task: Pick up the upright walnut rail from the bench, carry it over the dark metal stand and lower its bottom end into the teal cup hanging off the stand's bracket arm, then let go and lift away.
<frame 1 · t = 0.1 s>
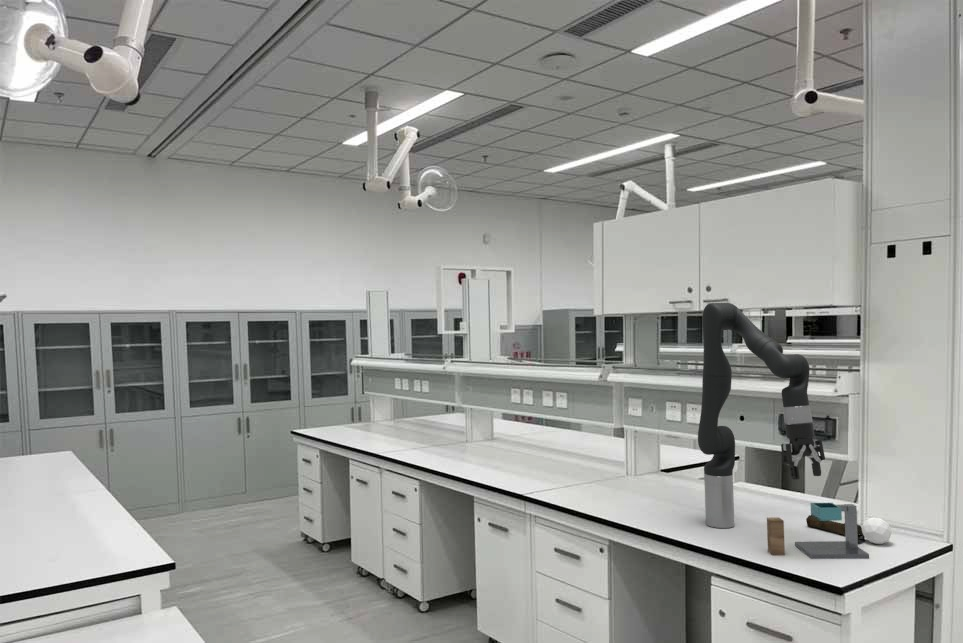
hand: (806, 477, 199), 22 cm above the table, tool pointing down, fingers open, 8 cm apart
hand tool: (836, 534, 219), on the table
cup bracket: (827, 551, 201), on the table
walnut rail: (776, 553, 201), on the table
ball: (877, 543, 208), on the table
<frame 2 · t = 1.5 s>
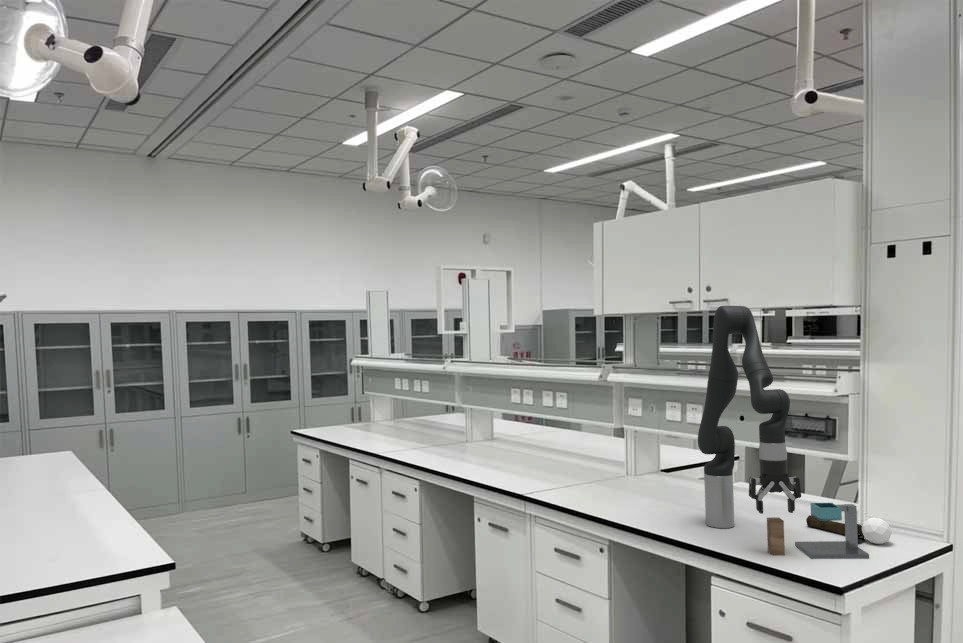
hand: (775, 512, 201), 12 cm above the table, tool pointing down, fingers open, 8 cm apart
nothing on the table moved.
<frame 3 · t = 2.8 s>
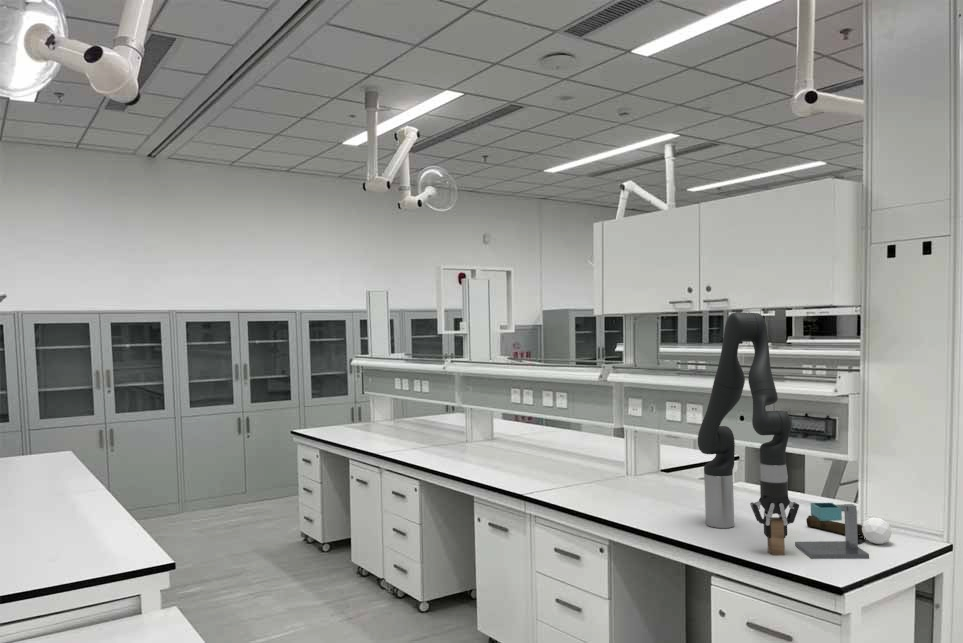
hand: (775, 537, 201), 5 cm above the table, tool pointing down, fingers closed on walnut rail, 3 cm apart
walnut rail: (776, 553, 201), on the table, touching gripper
everything else where it was.
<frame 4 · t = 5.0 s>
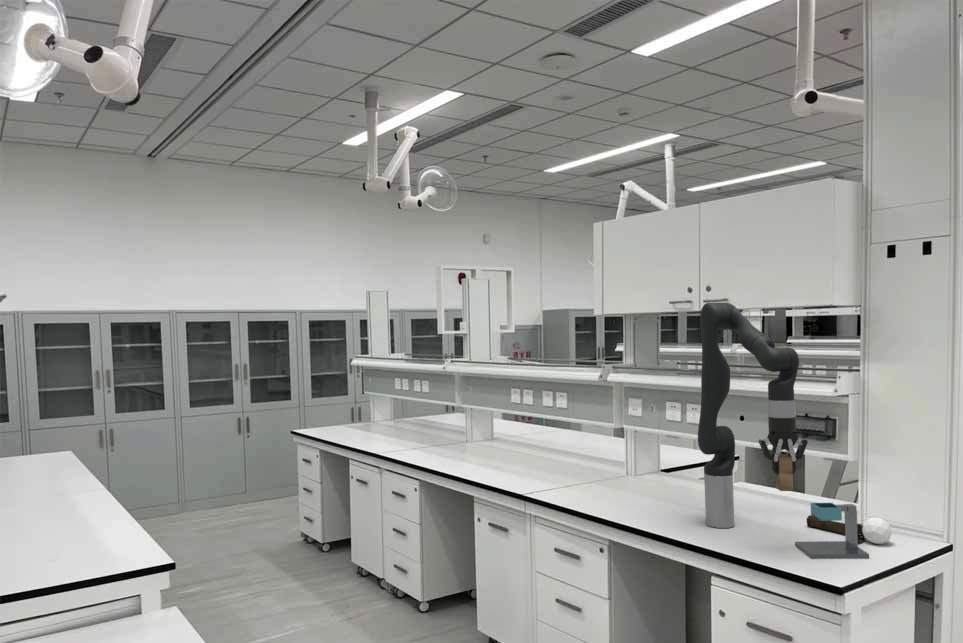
hand: (784, 473, 201), 23 cm above the table, tool pointing down, fingers closed on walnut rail, 3 cm apart
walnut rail: (784, 489, 201), point 19 cm above the table, touching gripper
everything else where it was.
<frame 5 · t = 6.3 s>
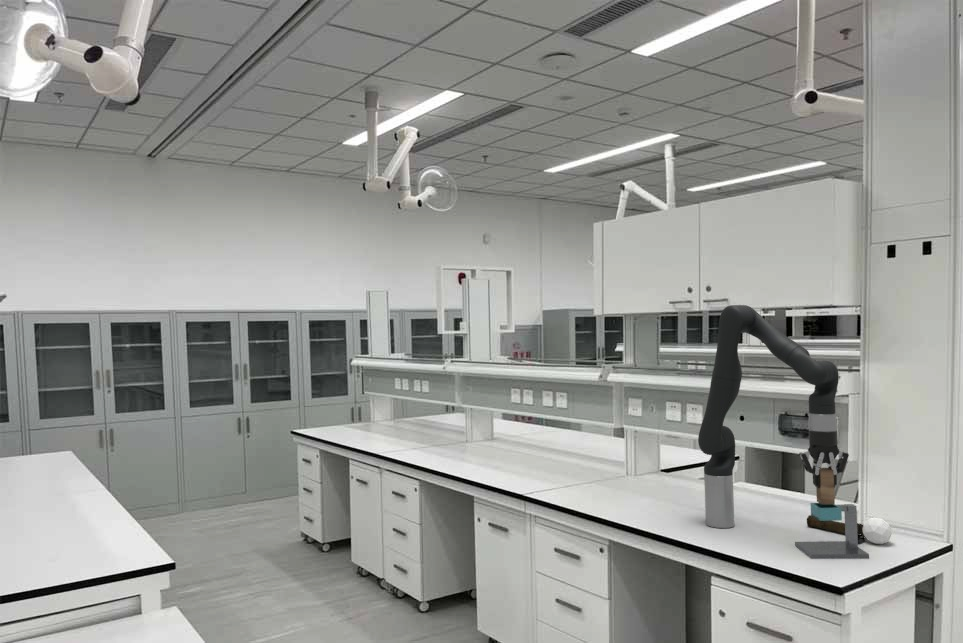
hand: (824, 486, 201), 19 cm above the table, tool pointing down, fingers closed on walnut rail, 3 cm apart
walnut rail: (825, 502, 201), point 14 cm above the table, touching gripper
everything else where it was.
when the fingers open (16 cm above the table, at t = 7.2 s): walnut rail stays where it is, resting on cup bracket.
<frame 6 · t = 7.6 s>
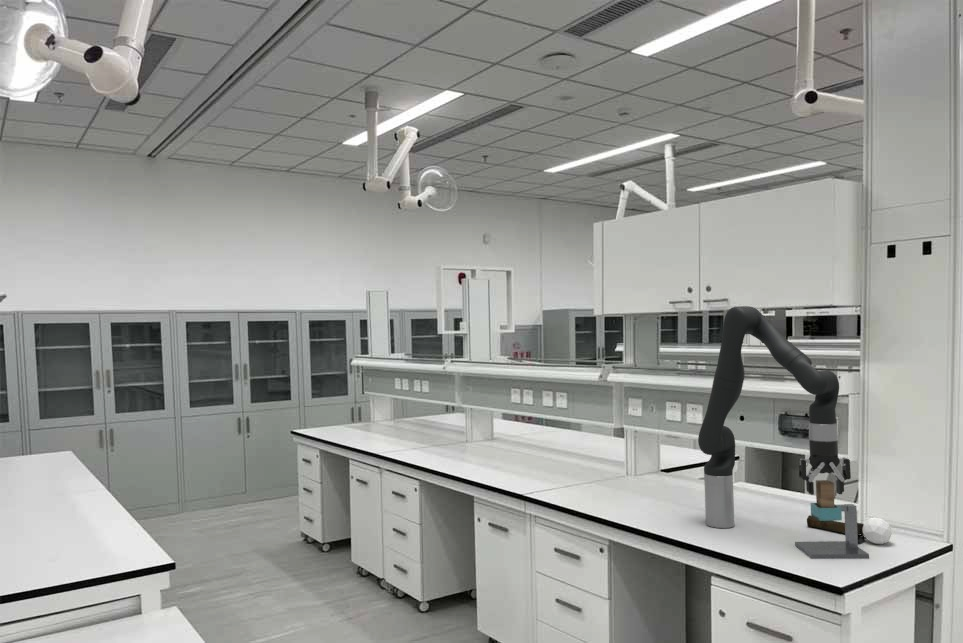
hand: (825, 493, 201), 17 cm above the table, tool pointing down, fingers open, 7 cm apart
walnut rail: (825, 515, 201), point 11 cm above the table, touching cup bracket
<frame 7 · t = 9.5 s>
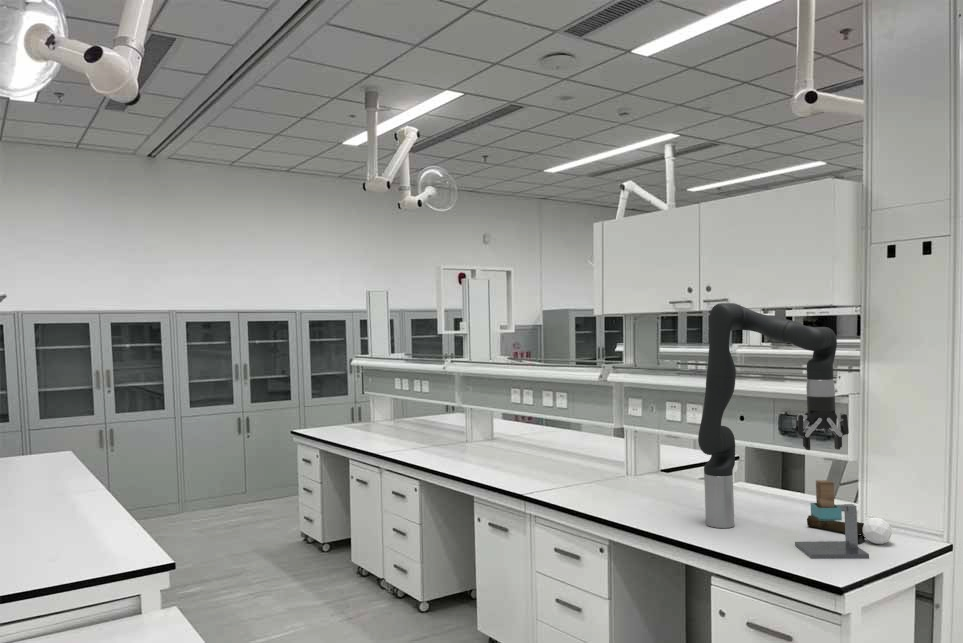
hand: (822, 449, 202), 30 cm above the table, tool pointing down, fingers open, 8 cm apart
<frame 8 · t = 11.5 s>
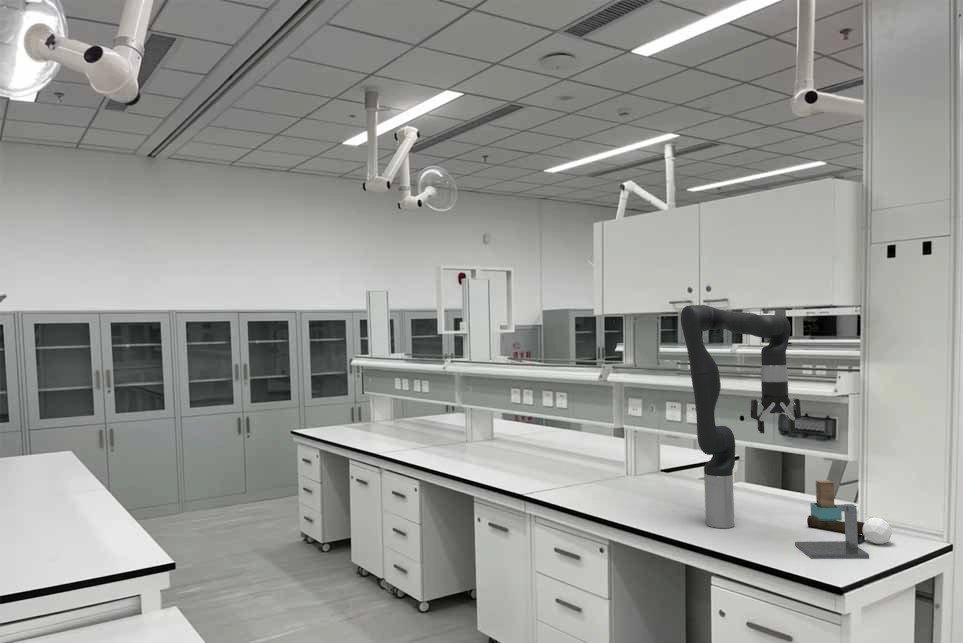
hand: (776, 432, 209), 34 cm above the table, tool pointing down, fingers open, 8 cm apart
at the end: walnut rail 0.1 cm off-centre on the cup bracket, point 10.6 cm above the cup bracket's base; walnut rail tilted 0°; the gripper is holding nothing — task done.
